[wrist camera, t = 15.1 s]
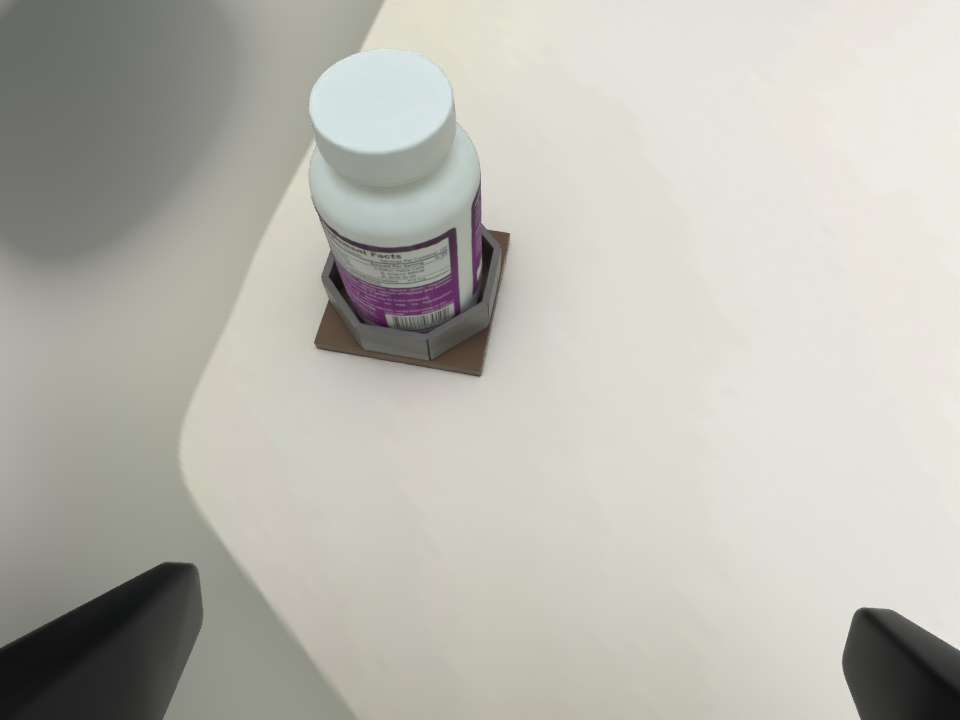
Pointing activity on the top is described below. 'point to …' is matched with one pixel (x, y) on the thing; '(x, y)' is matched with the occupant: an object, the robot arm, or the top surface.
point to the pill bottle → (397, 189)
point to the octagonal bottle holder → (440, 348)
